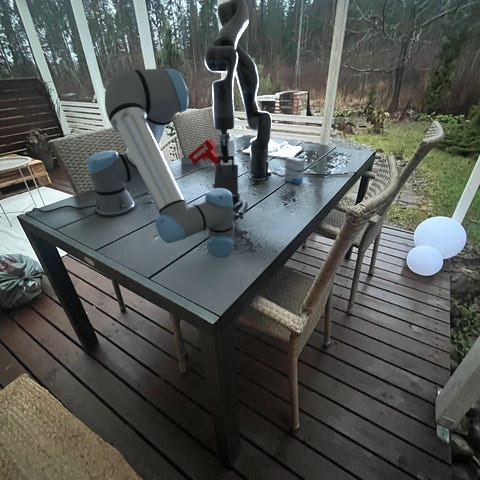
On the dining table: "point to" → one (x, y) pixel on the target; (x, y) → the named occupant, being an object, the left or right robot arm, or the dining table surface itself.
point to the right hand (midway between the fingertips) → (225, 161)
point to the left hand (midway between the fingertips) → (226, 196)
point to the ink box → (294, 170)
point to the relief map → (280, 150)
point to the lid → (226, 176)
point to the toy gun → (205, 152)
